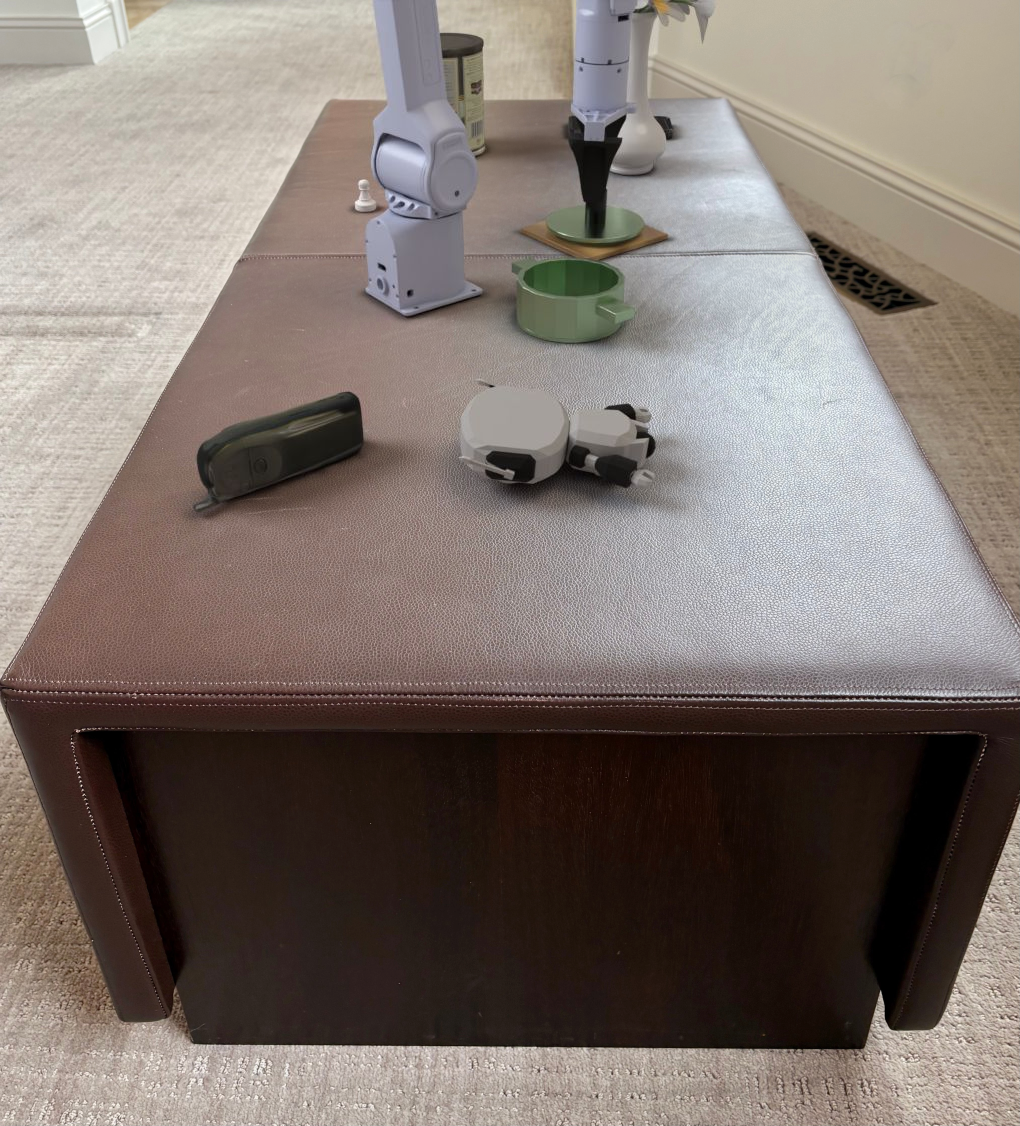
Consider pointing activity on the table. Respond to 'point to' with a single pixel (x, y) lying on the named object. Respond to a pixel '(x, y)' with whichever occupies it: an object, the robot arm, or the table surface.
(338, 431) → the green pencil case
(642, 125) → the flower vase
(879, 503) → the table surface
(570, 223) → the pot lid
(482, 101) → the coffee can
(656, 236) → the trivet
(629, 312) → the pot
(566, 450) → the robot toy
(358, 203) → the chess pawn
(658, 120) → the phone
